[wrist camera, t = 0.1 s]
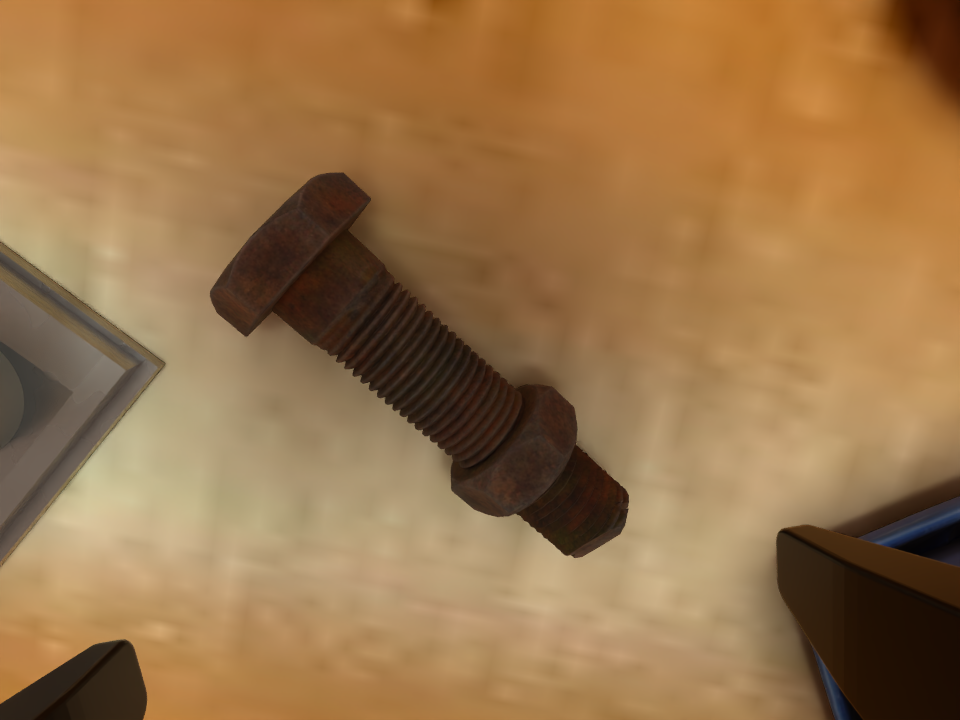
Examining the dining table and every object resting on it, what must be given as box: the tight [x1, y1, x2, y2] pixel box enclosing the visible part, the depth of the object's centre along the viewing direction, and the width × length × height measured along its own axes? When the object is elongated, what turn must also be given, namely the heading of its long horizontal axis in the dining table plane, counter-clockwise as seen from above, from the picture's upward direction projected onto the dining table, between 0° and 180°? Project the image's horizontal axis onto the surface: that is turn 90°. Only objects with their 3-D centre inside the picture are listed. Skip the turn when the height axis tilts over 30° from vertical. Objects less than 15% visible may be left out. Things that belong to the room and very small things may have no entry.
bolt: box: [210, 173, 629, 558], centre depth 21 cm, size 6×5×15 cm
